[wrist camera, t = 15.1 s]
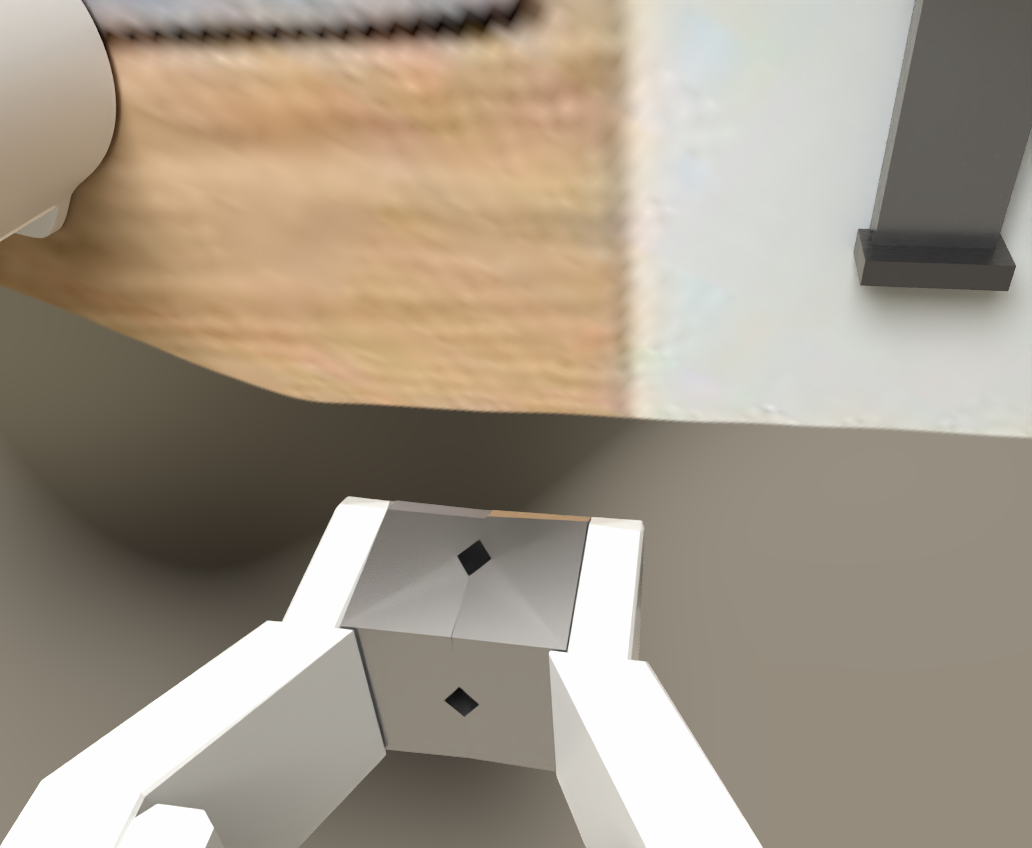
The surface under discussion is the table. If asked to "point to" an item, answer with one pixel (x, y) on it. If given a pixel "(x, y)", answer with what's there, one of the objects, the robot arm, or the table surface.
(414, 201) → the table surface
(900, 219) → the rail
